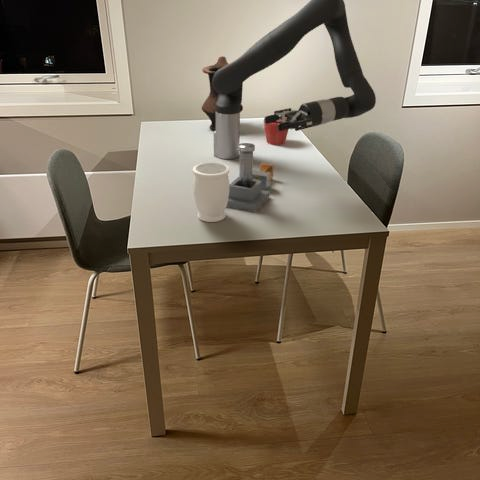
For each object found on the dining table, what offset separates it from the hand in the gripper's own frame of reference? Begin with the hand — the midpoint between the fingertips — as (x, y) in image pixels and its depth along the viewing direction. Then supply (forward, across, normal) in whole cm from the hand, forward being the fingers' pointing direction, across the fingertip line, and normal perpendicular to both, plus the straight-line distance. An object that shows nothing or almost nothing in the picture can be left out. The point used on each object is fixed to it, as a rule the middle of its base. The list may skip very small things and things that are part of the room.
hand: (271, 123), depth 146 cm
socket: (+12, +3, +22) cm, 25 cm away
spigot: (+12, +3, +20) cm, 23 cm away
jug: (-12, -74, +24) cm, 79 cm away
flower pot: (-25, -46, +26) cm, 59 cm away
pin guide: (+4, -5, +22) cm, 23 cm away
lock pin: (+1, -7, +22) cm, 24 cm away
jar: (+26, +9, +20) cm, 34 cm away
